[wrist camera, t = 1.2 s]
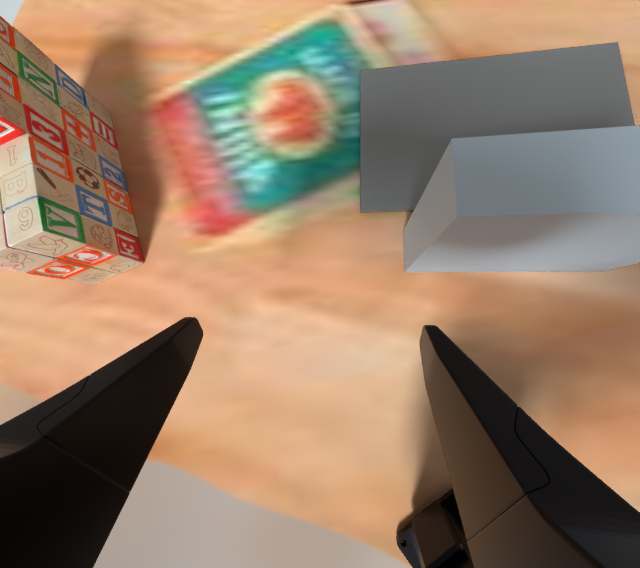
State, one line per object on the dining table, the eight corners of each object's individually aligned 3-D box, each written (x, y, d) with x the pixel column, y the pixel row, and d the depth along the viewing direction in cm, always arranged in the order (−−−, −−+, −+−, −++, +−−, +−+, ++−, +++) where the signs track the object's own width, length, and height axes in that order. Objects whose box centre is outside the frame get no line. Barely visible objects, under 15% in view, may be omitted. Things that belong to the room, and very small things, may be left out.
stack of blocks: (147, 263, 27) (-20, 213, 15) (97, 285, 27) (-107, 254, 15) (110, 110, 31) (-44, -25, 19) (66, 131, 31) (-111, 11, 19)
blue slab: (601, 271, 21) (917, 202, 9) (404, 272, 23) (457, 216, 11) (593, 226, 22) (880, 108, 10) (403, 231, 24) (452, 138, 12)
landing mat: (644, 202, 21) (649, 200, 21) (360, 212, 24) (360, 210, 24) (613, 46, 24) (617, 42, 23) (360, 74, 27) (360, 70, 27)
